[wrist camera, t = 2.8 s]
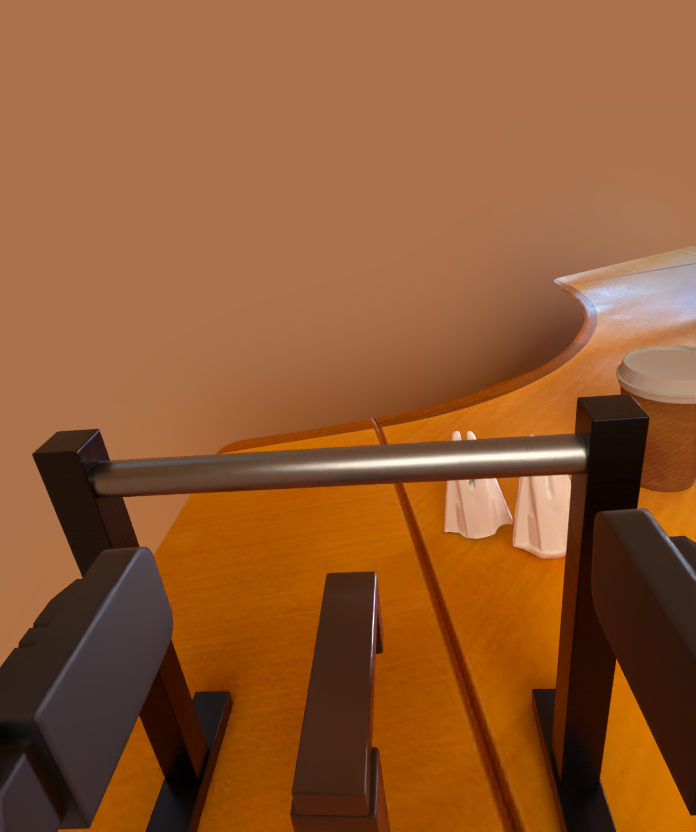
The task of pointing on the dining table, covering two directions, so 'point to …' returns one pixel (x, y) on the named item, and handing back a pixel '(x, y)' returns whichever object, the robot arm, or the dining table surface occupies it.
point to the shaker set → (487, 510)
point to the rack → (366, 465)
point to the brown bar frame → (342, 715)
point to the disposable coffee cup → (665, 412)
